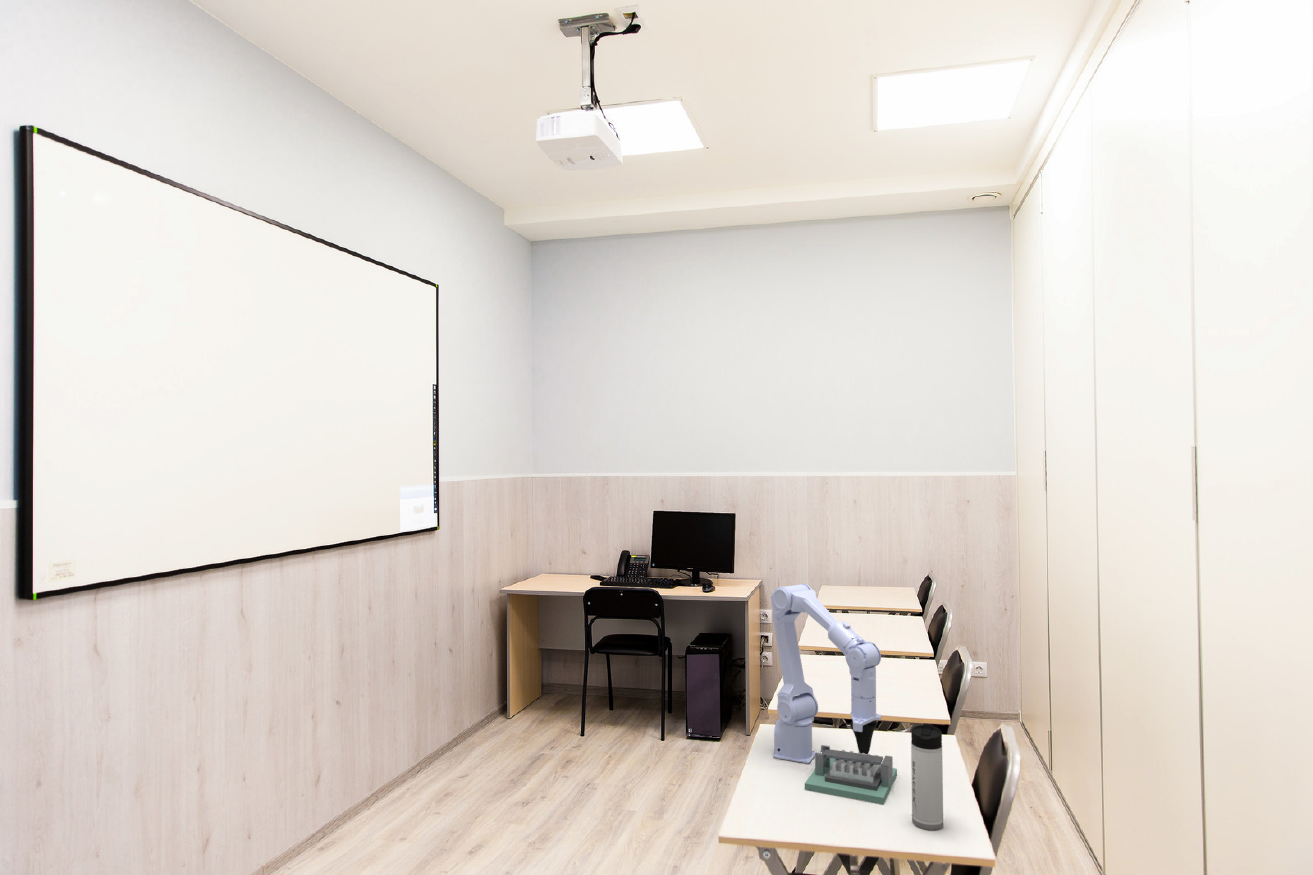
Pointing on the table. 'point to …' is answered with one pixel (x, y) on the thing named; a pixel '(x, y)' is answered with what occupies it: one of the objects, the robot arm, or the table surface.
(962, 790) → the table surface
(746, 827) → the table surface
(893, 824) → the table surface
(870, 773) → the heat sink
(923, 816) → the travel mug
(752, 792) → the table surface
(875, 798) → the circuit board
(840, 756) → the flat metal bar
